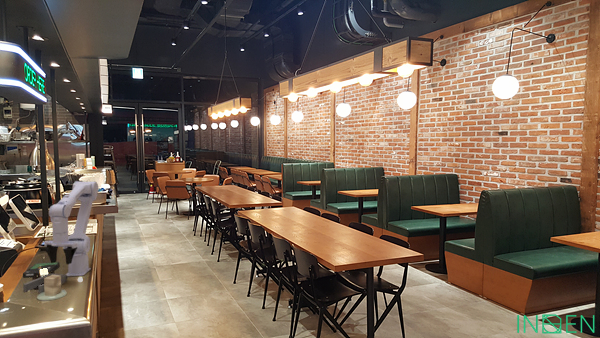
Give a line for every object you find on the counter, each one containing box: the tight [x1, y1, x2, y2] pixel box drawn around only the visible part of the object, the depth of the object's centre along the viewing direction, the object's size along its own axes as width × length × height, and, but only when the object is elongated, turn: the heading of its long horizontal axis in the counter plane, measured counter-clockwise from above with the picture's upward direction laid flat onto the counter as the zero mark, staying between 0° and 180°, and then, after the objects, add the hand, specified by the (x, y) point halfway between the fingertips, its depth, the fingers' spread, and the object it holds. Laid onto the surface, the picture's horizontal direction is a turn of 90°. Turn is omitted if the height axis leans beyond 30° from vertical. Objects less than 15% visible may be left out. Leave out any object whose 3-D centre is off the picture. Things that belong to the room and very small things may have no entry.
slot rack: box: [22, 272, 68, 294], centre depth 166 cm, size 14×8×3 cm, turn 169°
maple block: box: [44, 275, 62, 296], centre depth 156 cm, size 4×4×7 cm
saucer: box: [36, 289, 68, 302], centre depth 156 cm, size 10×10×1 cm
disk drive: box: [22, 261, 60, 279], centre depth 183 cm, size 10×3×15 cm
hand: (61, 263), depth 168 cm, fingers open, 7 cm apart
